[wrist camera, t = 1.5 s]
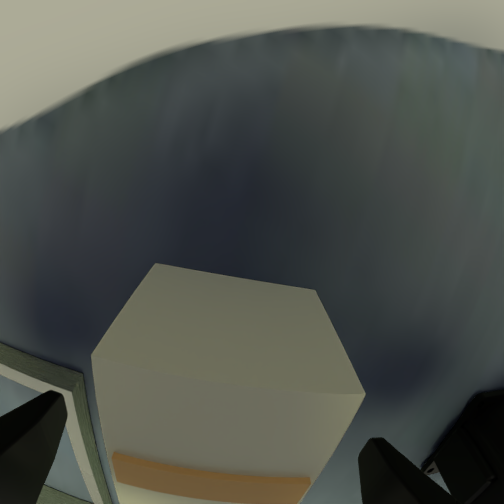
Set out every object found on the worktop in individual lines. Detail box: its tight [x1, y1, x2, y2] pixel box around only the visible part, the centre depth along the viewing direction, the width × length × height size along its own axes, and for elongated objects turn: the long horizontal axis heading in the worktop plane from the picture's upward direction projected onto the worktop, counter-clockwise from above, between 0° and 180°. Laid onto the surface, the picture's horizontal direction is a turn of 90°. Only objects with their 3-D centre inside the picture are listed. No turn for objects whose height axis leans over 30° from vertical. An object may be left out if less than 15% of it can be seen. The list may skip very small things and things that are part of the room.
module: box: [91, 263, 366, 504], centre depth 8 cm, size 5×7×5 cm
